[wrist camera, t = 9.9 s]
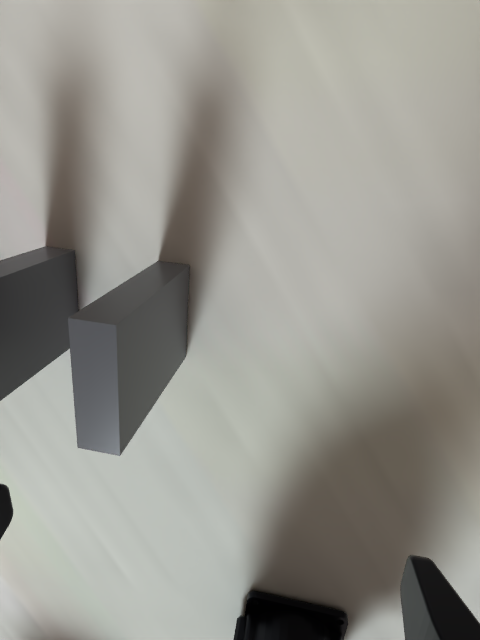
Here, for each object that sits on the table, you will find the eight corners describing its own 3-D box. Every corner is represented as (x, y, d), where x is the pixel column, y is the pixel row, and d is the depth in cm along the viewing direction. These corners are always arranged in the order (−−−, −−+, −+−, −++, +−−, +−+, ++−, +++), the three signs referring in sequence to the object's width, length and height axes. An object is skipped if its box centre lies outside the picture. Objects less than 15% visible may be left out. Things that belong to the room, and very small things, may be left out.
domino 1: (74, 250, 21) (-59, 299, 13) (80, 340, 23) (-34, 426, 15) (45, 246, 21) (-102, 292, 14) (53, 335, 23) (-72, 418, 15)
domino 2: (189, 265, 20) (116, 325, 13) (185, 356, 22) (120, 455, 14) (158, 261, 20) (67, 318, 13) (157, 352, 22) (77, 447, 15)
